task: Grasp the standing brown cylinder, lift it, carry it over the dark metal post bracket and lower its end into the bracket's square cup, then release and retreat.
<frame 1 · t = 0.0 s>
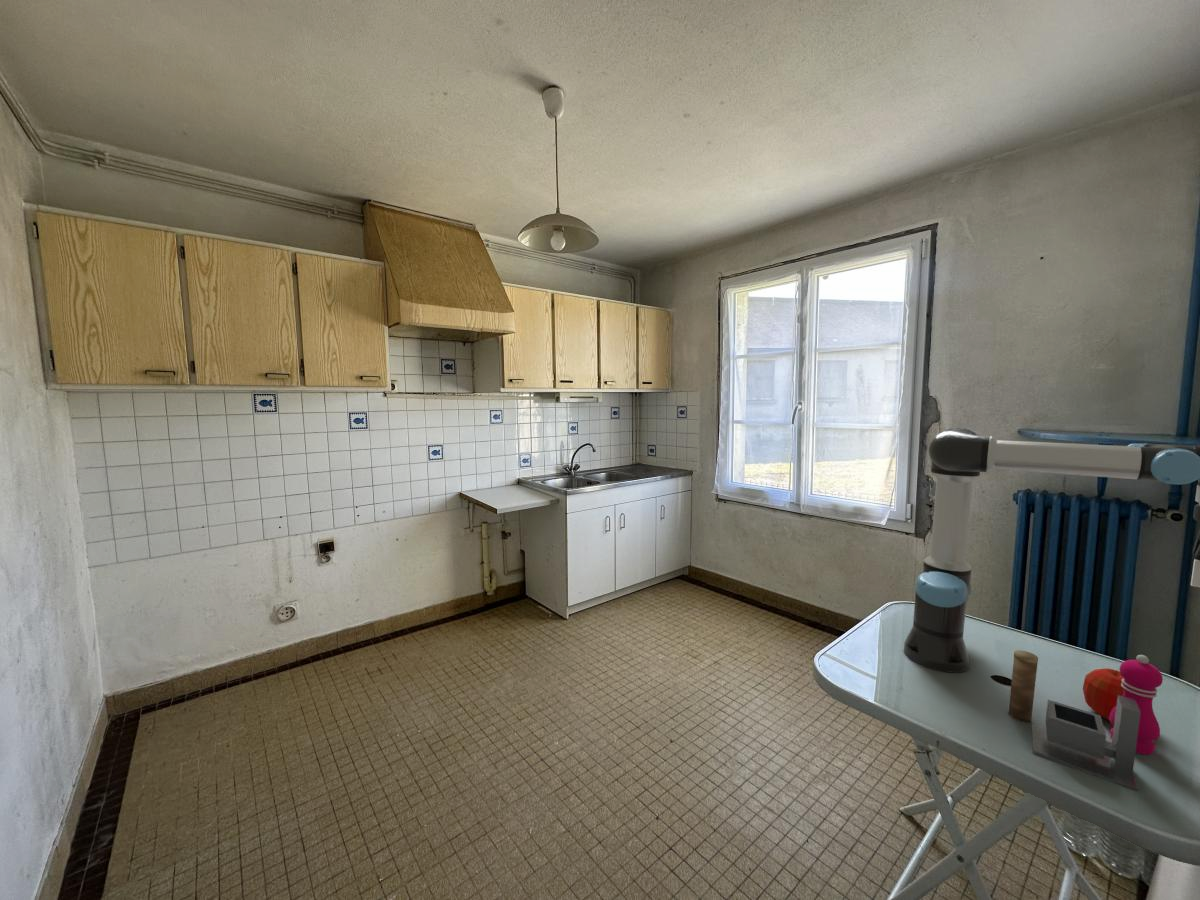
pepper mill: (1131, 745, 102), on the table
brown cylinder: (1019, 716, 111), on the table
bracket: (1071, 752, 99), on the table
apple: (1110, 717, 111), on the table
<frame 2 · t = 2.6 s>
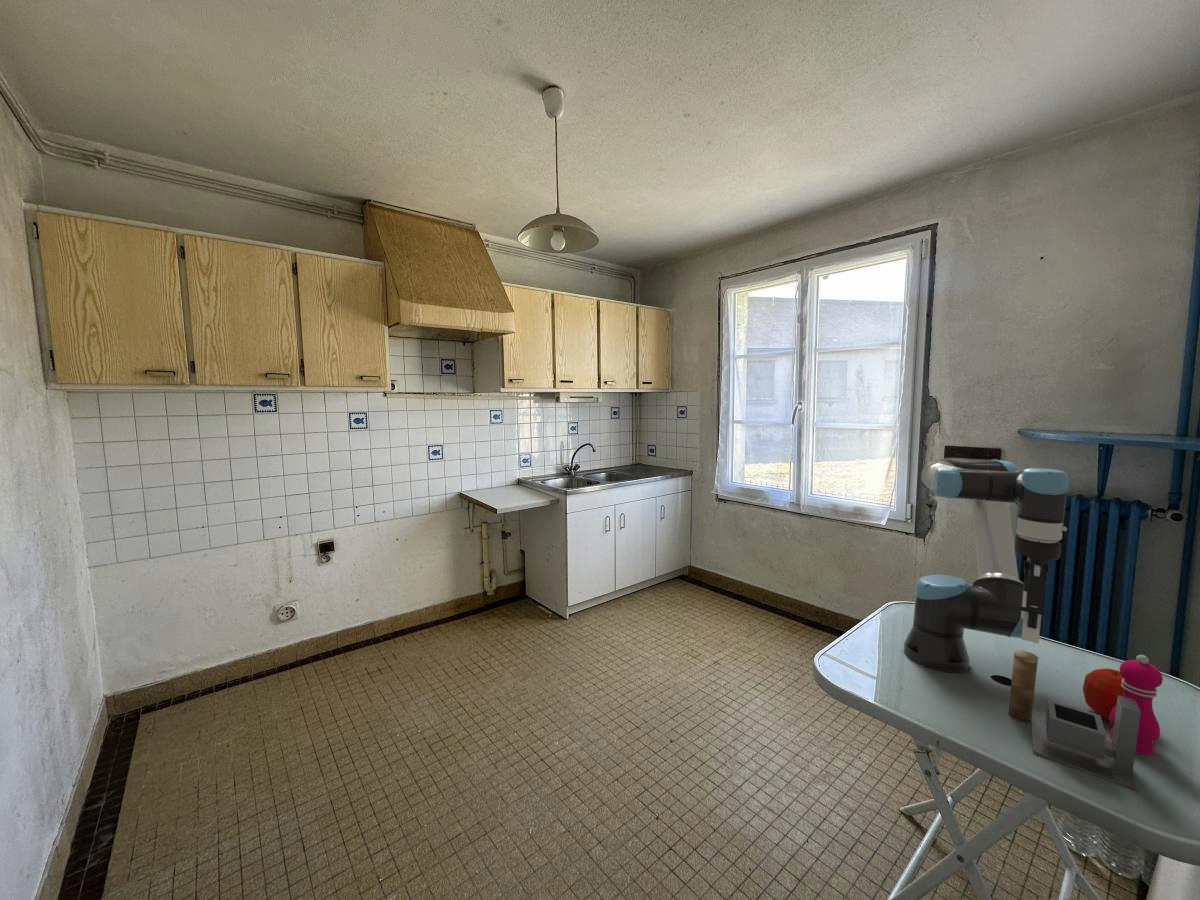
hand: (1029, 629, 108), 21 cm above the table, fingers open, 13 cm apart
nothing on the table moved.
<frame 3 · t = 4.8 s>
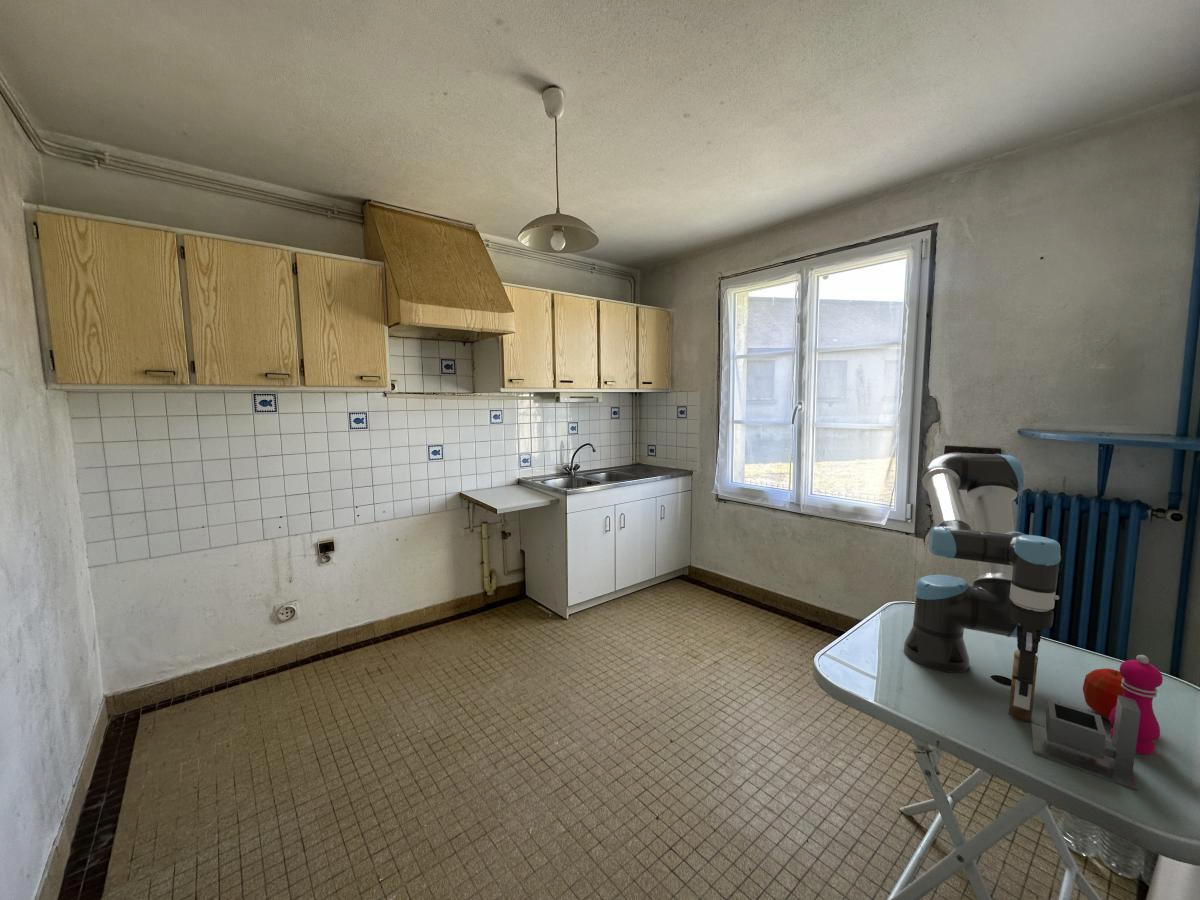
hand: (1021, 701, 110), 4 cm above the table, fingers closed on brown cylinder, 4 cm apart
brown cylinder: (1019, 716, 111), on the table, touching gripper
everything else where it was.
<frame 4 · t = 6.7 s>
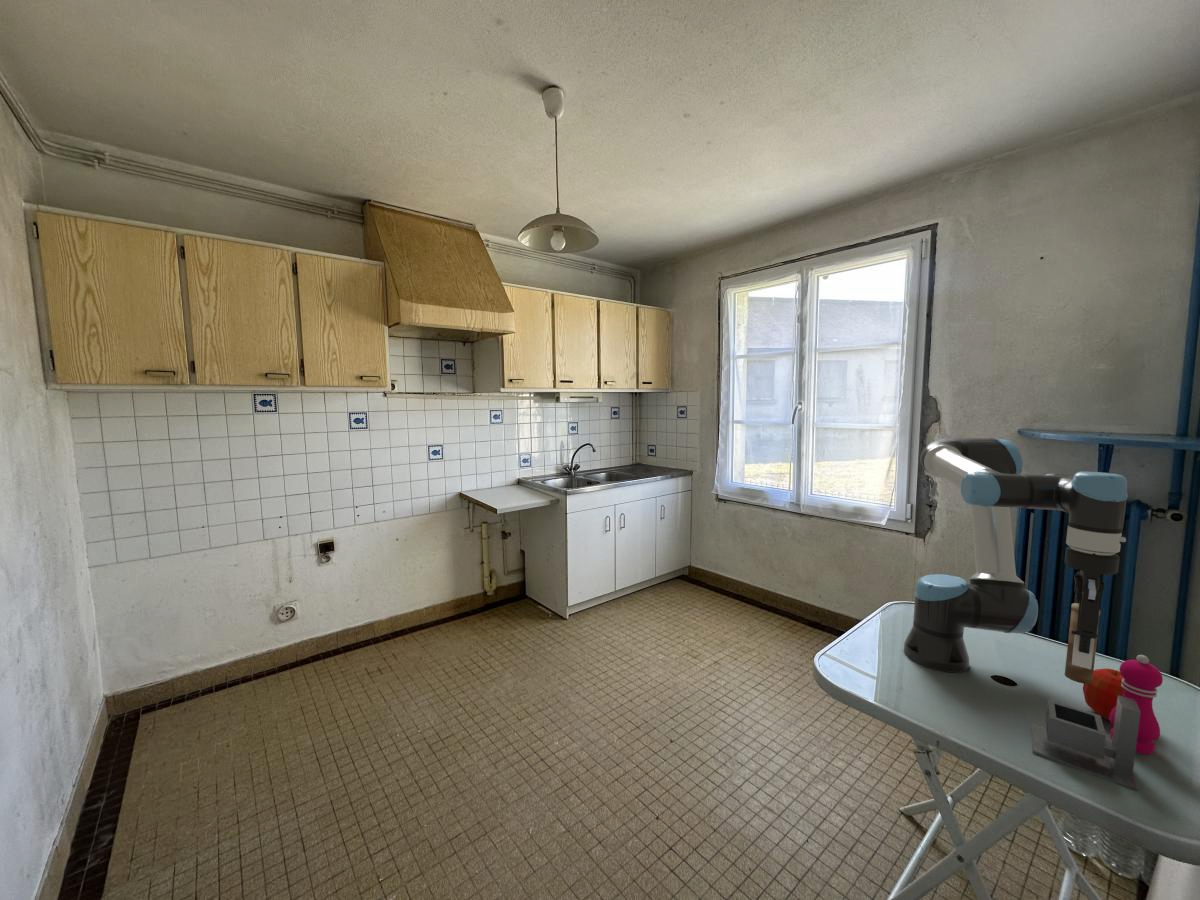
hand: (1080, 661, 97), 20 cm above the table, fingers closed on brown cylinder, 4 cm apart
brown cylinder: (1078, 678, 98), point 16 cm above the table, touching gripper
everything else where it was.
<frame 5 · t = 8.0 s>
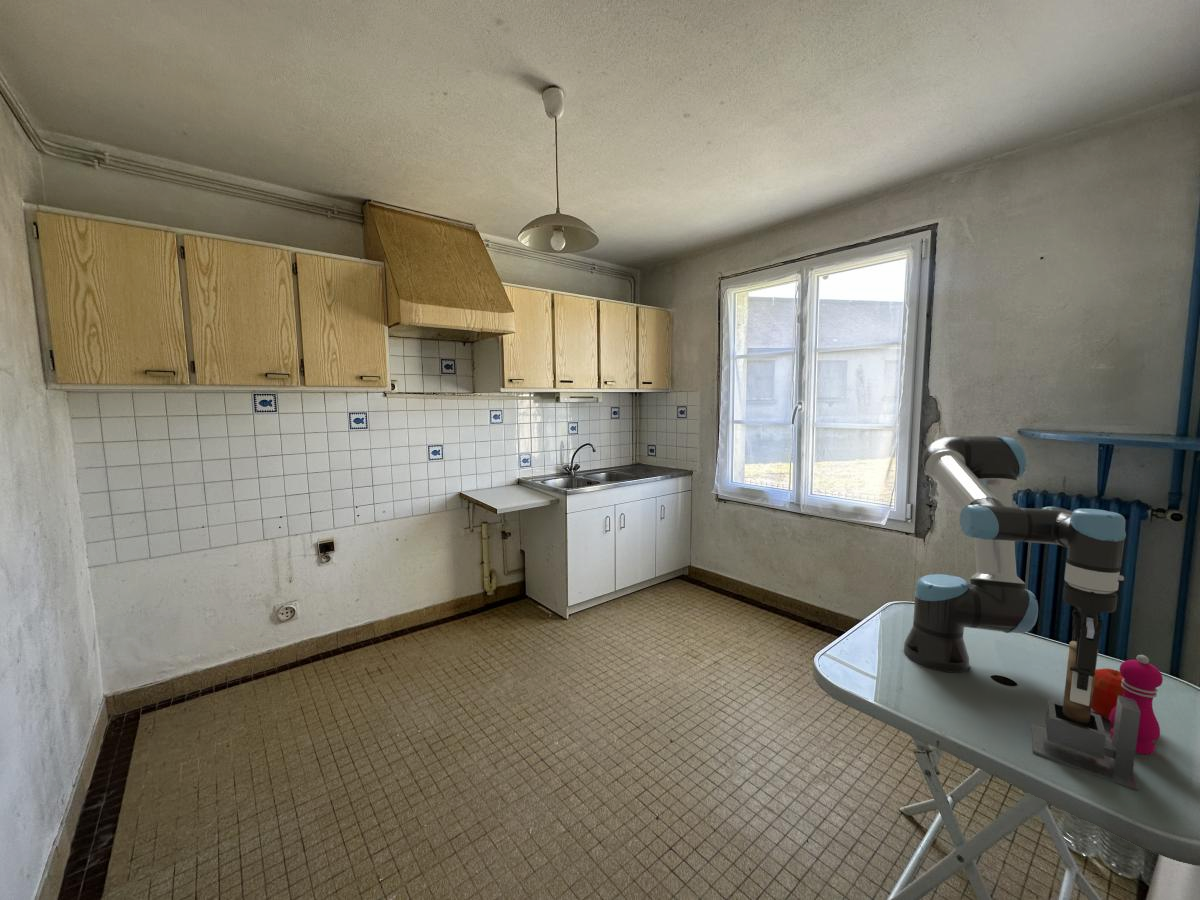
hand: (1078, 696, 98), 12 cm above the table, fingers closed on brown cylinder, 4 cm apart
brown cylinder: (1075, 716, 98), point 8 cm above the table, touching gripper
everything else where it was.
when the fingers open (9 cm above the table, at t = 8.9 s): brown cylinder stays where it is, resting on bracket.
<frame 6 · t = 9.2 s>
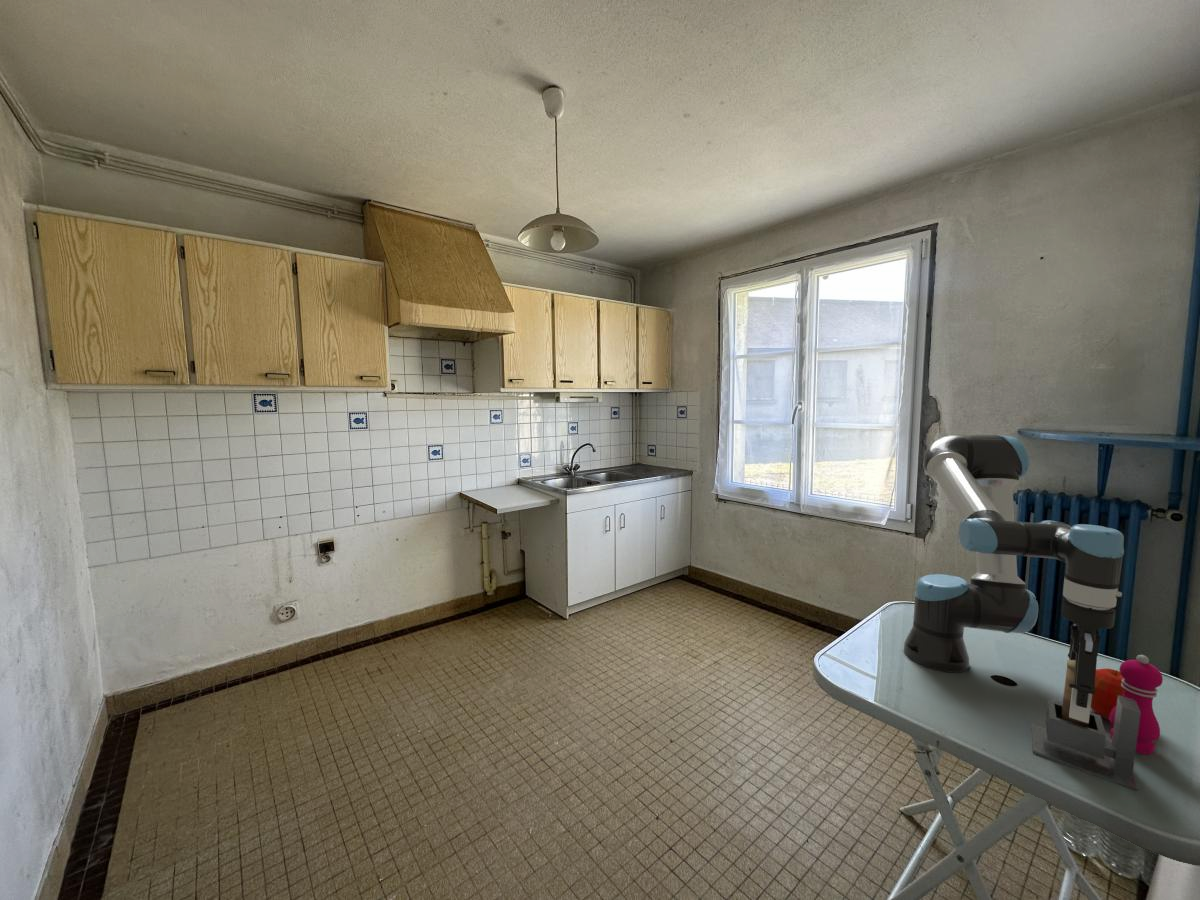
hand: (1076, 707, 98), 10 cm above the table, fingers open, 9 cm apart
brown cylinder: (1073, 734, 99), point 4 cm above the table, touching bracket
everything else where it was.
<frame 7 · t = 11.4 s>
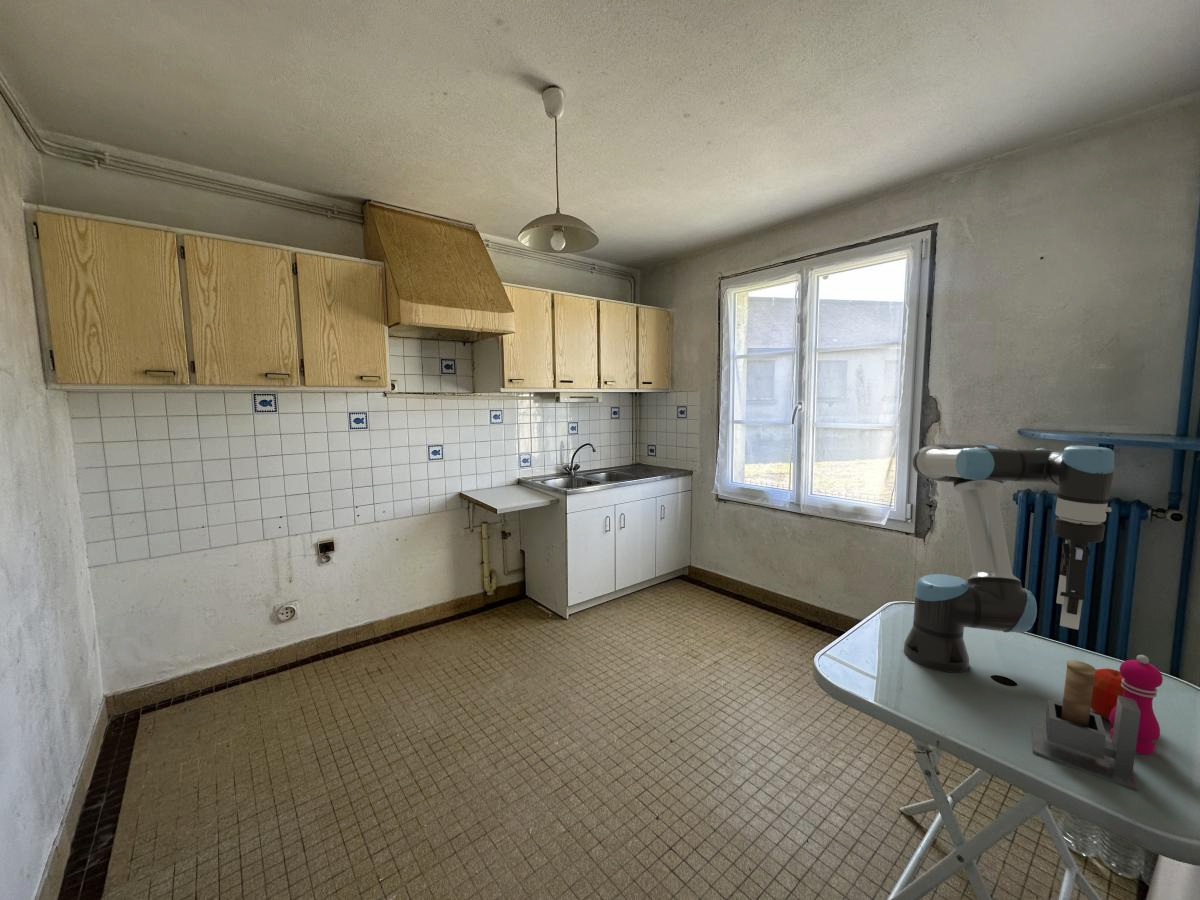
hand: (1066, 615, 103), 27 cm above the table, fingers open, 13 cm apart
nothing on the table moved.
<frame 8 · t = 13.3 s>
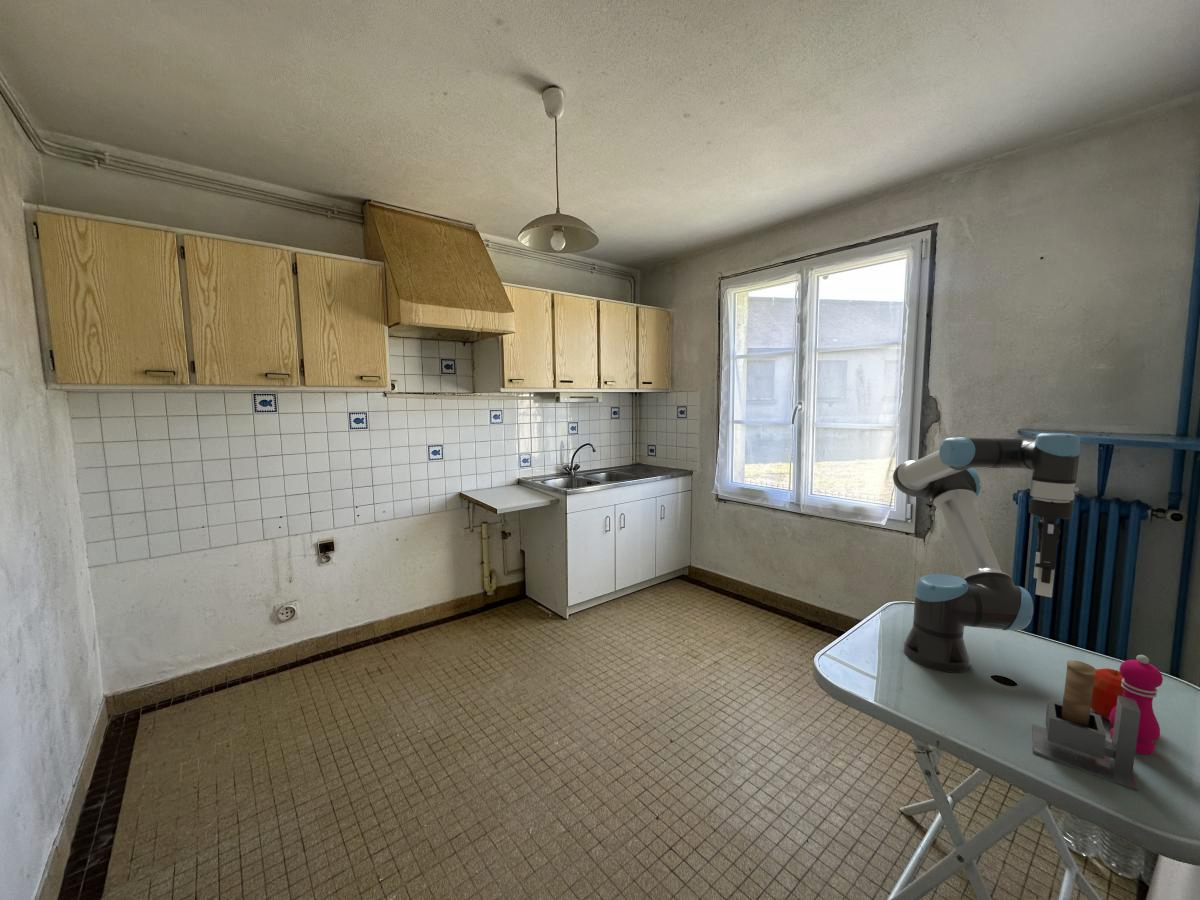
hand: (1042, 587, 114), 29 cm above the table, fingers open, 13 cm apart
nothing on the table moved.
at the end: brown cylinder 0.0 cm off-centre on the bracket, point 4.0 cm above the bracket's base; brown cylinder tilted 0°; the gripper is holding nothing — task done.
